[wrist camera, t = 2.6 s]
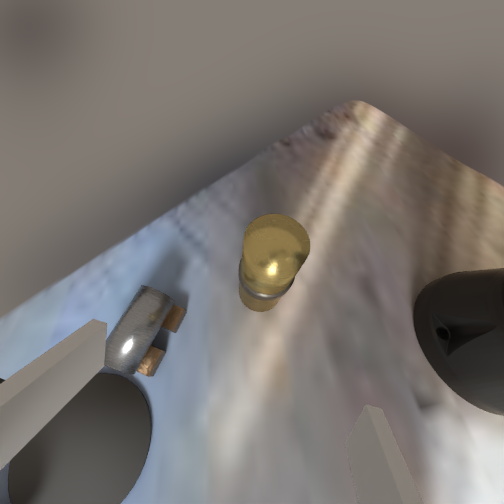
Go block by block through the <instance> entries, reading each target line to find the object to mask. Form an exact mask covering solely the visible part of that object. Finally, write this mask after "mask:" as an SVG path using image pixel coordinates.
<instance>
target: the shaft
mask: <svg viewBox="0 0 504 504" xmlns="http://www.w3.org/2000/svg"><path fill="white" fill-rule="evenodd" d="M174 302H175V301H174V300H173V299H172V298H170V297H169V296H167V295H165V294H164V293H162V292H160V291H158V290H155V289H153V288H151V287H148V286H144V285H142V286H141V287H140V289H139V290H138V292H137V294H136V295H135V297H134V298H133V300H132V301H131V303H130V304H129V306H128V307H127V309H126V311H125V312H124V314H123V315H122V317H121V318H120V320H119V321H118V323H117V324H116V326H115V328H114V329H113V331H112V332H111V334H110V335H109V337H108V338H107V340H106V347H105V360H104V365H105V366H108V367H110V368H112V369H115V370H118V371H121V372H124V373H128V374H135V373H136V371H138V372H140V373H142V374H144V375H146V376H148V377H150V376H154V374H155V372H156V370H157V368H158V366H159V365H160V363H161V361H162V359H163V357H164V355H165V353H166V352H165V351H163V350H161V349H158V348H156V347H154V346H152V345H151V344H152V342H153V340H154V338H155V337H156V335H157V333H158V331H159V329H160V328H161V327H163V328H165V329H167V330H170V331H172V332H174V333H176V332H177V330H178V328H179V326H180V324H181V322H182V320H183V318H184V316H185V314H186V311H185V309H183V308H180V307H178V306H176V305H173V304H174Z"/></svg>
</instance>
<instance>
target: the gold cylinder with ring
mask: <svg viewBox="0 0 504 504" xmlns="http://www.w3.org/2000/svg"><path fill="white" fill-rule="evenodd" d="M309 252H310V240H309V236H308V234H307V232H306V231H305V229H304V228H303V227H302V225H301V224H299V223H298V222H297V221H296V220H294V219H292V218H290V217H288V216H285V215H281V214H267V215H263V216H260V217H258V218H256V219H255V220H254V221H252V222H251V223H250V224H249V226H248V227H247V229H246V231H245V234H244V242H243V253H242V258H241V261H240V264H239V280H240V284H239V295H240V298H241V301H242V302H243V303H244V305H245V306H246V307H248V308H249V309H251V310H253V311H257V312H264V311H268V310H270V309H272V308H273V307H274V306H275V305H276V304H277V303H278V301H279V300H280V298H281V297H282V296H283V295H284V294H285V293H286V292H287V291H288V290H289V288H290V287H291V285H292V284H293V282H294V279H295V275H296V274H297V272H298V271H299V269H300V268H301V266H302V265H303V263H304V262H305V260H306V259H307V257H308V255H309Z"/></svg>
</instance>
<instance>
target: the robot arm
mask: <svg viewBox="0 0 504 504" xmlns="http://www.w3.org/2000/svg"><path fill="white" fill-rule="evenodd" d="M414 321H415V329H416V333H417V337H418V340H419V343H420V345H421V348H422V350H423V352H424V354H425V356H426V358H427V359H428V361H429V363H430V364H431V366H432V367H433V369H434V370H435V371H436V373H437V374H438V375H439V376H440V377H441V379H442V380H443V381H444V382H445V383H446V384H447V385H448V386H449V387H450V388H451V389H452V390H453V391H454V392H456V393H457V394H458V395H459V396H461V397H462V398H463V399H465V400H466V401H468V402H469V403H471V404H473V405H474V406H476V407H478V408H480V409H483V410H485V411H488V412H490V413H494V414H498V415H503V416H504V268H500V269H488V270H478V271H464V272H457V273H452V274H449V275H446V276H444V277H442V278H440V279H437V280H435V281H433V282H431V283H430V284H428V285H427V286H426V287H425V288H424V289H423V290H422V291H421V293H420V294H419V296H418V299H417V301H416V305H415V311H414ZM106 334H107V323H105V322H101V321H98V320H95V319H92V320H91V321H89V322H88V323H87V324H85V325H84V326H82V327H81V328H79V329H78V330H77V331H75V332H74V333H72V334H71V335H69V336H68V337H67V338H65V339H64V340H62V341H61V342H59V343H58V344H57V345H55V346H54V347H52V348H51V349H49V350H48V351H47V352H45V353H44V354H42V355H41V356H40V357H38V358H37V359H35V360H34V361H32V362H31V363H30V364H28V365H27V366H25V367H24V368H22V369H21V370H20V371H18V372H17V373H15V374H14V375H12V376H11V377H10V378H8V379H7V380H4V379H1V378H0V470H1V469H2V468H3V467H4V466H5V465H6V464H7V463H8V462H9V461H10V460H11V459H12V458H13V457H14V456H15V455H16V454H17V453H18V452H19V451H20V450H21V449H22V448H23V447H24V446H25V445H26V444H27V443H28V442H29V441H30V440H31V439H32V438H33V437H34V436H35V435H36V434H37V433H38V432H39V431H40V430H41V429H42V428H43V427H44V426H45V425H46V424H47V423H48V422H49V421H50V420H51V419H52V418H53V417H54V416H55V415H56V414H57V413H58V412H59V411H60V410H61V409H62V408H63V407H64V406H65V405H66V404H67V403H68V402H69V401H70V400H71V399H72V398H73V397H74V396H75V395H76V394H77V393H78V392H79V391H80V390H81V389H82V388H83V387H84V386H85V385H86V384H87V383H88V382H89V381H90V380H91V379H92V378H93V377H94V376H95V375H96V374H97V373H98V372H99V371H100V370H101V369H102V368H103V367H104V360H105V347H106ZM345 448H346V452H347V456H348V460H349V465H350V469H351V473H352V477H353V482H354V486H355V490H356V494H357V499H358V503H359V504H423V501H422V499H421V497H420V494H419V492H418V490H417V488H416V485H415V483H414V481H413V479H412V476H411V474H410V472H409V469H408V467H407V465H406V463H405V460H404V458H403V456H402V453H401V451H400V449H399V447H398V444H397V442H396V440H395V438H394V435H393V433H392V431H391V428H390V426H389V424H388V422H387V419H386V417H385V415H384V413H383V410H382V409H380V408H377V407H374V406H371V405H368V404H366V405H365V406H364V408H363V410H362V412H361V414H360V416H359V418H358V420H357V421H356V423H355V425H354V427H353V429H352V431H351V433H350V435H349V436H348V438H347V440H346V442H345Z"/></svg>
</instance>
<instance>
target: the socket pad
mask: <svg viewBox="0 0 504 504" xmlns="http://www.w3.org/2000/svg"><path fill="white" fill-rule="evenodd" d="M150 440H151V417H150V412H149V408H148V405H147V402H146V400H145V398H144V396H143V394H142V393H141V392H140V390H139V389H138V388H137V387H136V386H135V385H134V384H133V383H132V382H130V381H129V380H127V379H126V378H123V377H121V376H118V375H114V374H107V373H99V374H96V375H95V376H94V377H93V378H92V379H91V380H90V381H89V382H88V383H87V384H86V385H85V386H84V387H83V388H82V389H81V390H80V391H79V392H78V393H77V394H76V395H75V396H74V397H73V398H72V399H71V400H70V401H69V402H68V403H67V404H66V405H65V406H64V407H63V408H62V409H61V410H60V411H59V412H58V413H57V414H56V415H55V416H54V417H53V418H52V419H51V420H50V421H49V422H48V423H47V424H46V425H45V426H44V427H43V428H42V429H41V430H40V431H39V432H38V433H37V434H36V435H35V436H34V437H33V438H32V439H31V440H30V441H29V442H28V443H27V444H26V445H25V446H24V447H23V448H22V449H21V450H20V451H19V452H18V453H17V454H16V455H15V456H14V457H13V458H12V459H11V461H10V466H9V474H8V491H9V497H10V501H11V504H120V503H121V502H122V501H123V500H124V499H125V498H126V496H127V495H128V494H129V492H130V491H131V489H132V488H133V486H134V485H135V483H136V481H137V479H138V477H139V476H140V473H141V471H142V469H143V467H144V464H145V461H146V458H147V455H148V451H149V446H150Z"/></svg>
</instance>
